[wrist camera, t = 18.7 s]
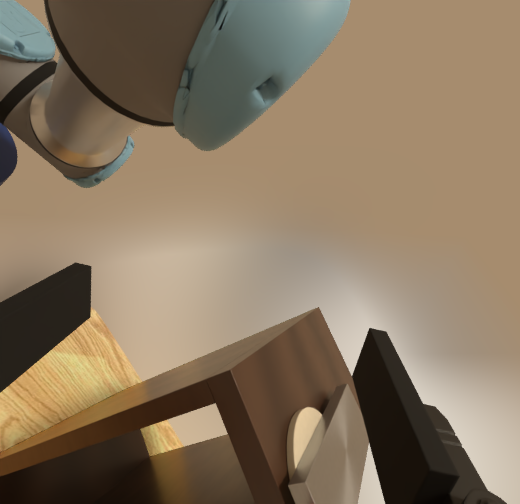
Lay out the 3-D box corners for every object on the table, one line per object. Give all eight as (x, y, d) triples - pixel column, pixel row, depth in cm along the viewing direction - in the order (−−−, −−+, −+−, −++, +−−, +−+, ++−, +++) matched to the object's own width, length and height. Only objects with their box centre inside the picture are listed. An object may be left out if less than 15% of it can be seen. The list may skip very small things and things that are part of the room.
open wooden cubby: (122, 390, 54) (318, 306, 39) (149, 467, 52) (367, 409, 37) (-44, 475, 34) (230, 369, 19) (-13, 606, 32) (323, 599, 17)
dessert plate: (285, 389, 24) (292, 386, 24) (337, 435, 28) (344, 433, 27) (286, 535, 17) (296, 534, 17) (355, 569, 21) (364, 569, 21)
